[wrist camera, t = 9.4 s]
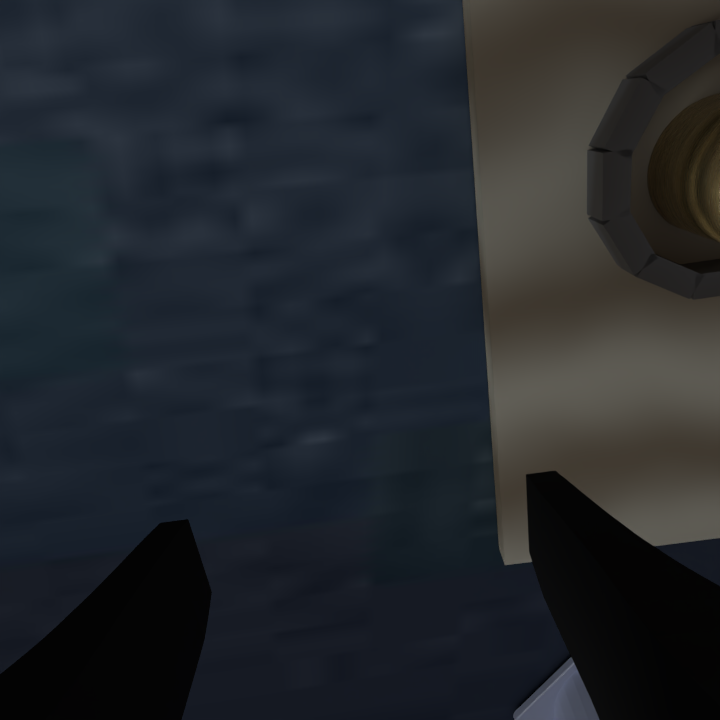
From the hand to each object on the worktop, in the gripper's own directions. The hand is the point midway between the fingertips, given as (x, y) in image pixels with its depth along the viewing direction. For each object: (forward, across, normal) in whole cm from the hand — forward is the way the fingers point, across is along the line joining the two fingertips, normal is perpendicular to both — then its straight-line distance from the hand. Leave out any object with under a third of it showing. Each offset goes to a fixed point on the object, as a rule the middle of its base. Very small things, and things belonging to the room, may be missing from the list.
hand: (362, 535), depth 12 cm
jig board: (+9, -12, -1) cm, 15 cm away
